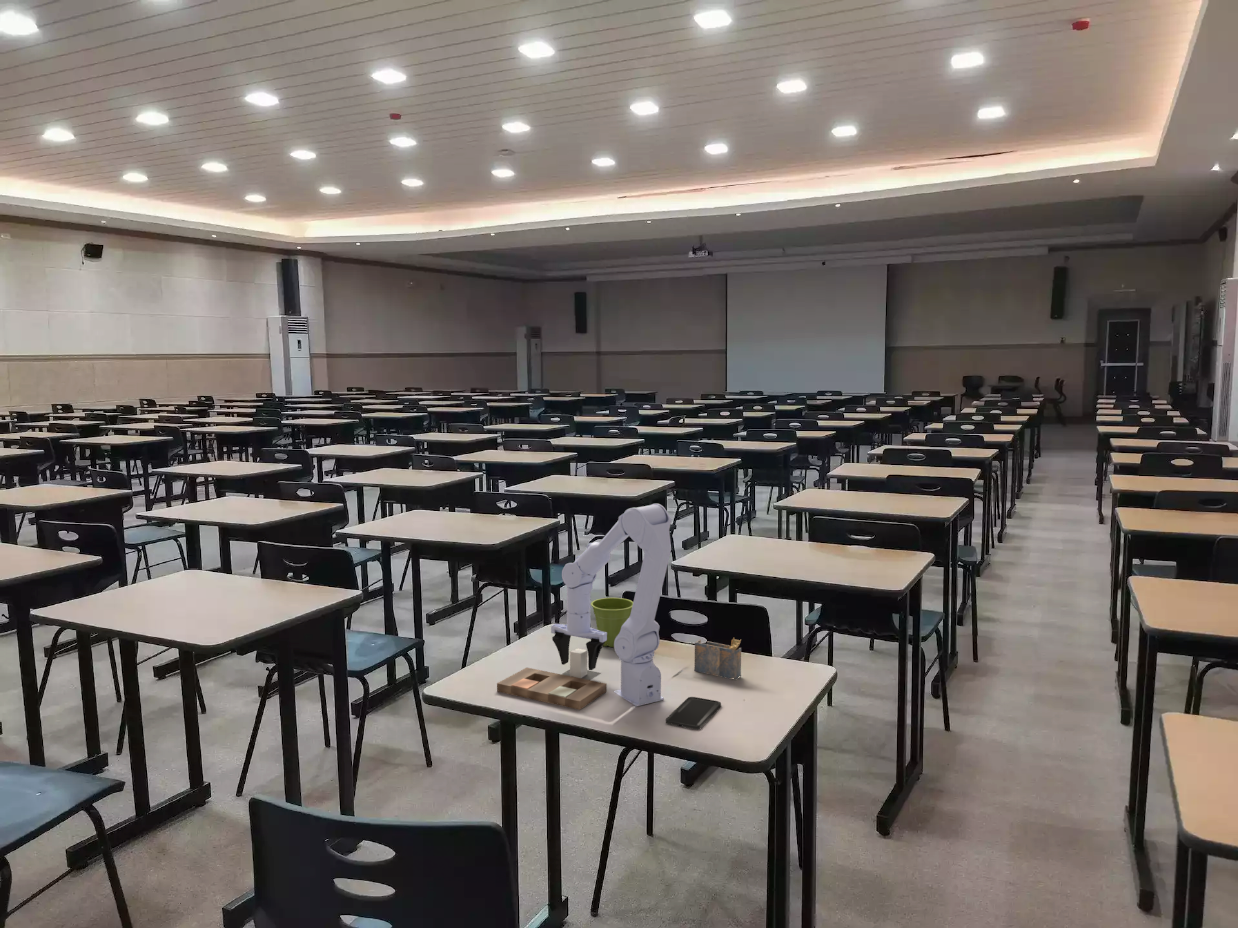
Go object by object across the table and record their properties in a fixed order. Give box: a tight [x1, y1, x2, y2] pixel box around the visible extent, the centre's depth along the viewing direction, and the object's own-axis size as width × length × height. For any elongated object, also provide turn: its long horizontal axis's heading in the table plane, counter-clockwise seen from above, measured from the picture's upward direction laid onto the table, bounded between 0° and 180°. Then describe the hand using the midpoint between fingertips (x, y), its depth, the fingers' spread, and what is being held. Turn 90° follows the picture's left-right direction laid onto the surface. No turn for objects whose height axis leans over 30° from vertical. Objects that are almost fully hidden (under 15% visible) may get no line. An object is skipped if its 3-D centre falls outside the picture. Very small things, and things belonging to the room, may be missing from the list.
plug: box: [569, 647, 588, 678], centre depth 203 cm, size 3×3×6 cm
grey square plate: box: [561, 669, 602, 681], centre depth 203 cm, size 8×8×1 cm
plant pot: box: [591, 597, 634, 648], centre depth 228 cm, size 12×12×11 cm
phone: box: [665, 696, 722, 731], centre depth 182 cm, size 8×1×15 cm
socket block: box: [496, 667, 607, 711], centre depth 192 cm, size 22×12×3 cm, turn 62°
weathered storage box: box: [694, 637, 742, 680], centre depth 206 cm, size 11×3×10 cm, turn 57°
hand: (578, 665), depth 203 cm, fingers open, 7 cm apart
